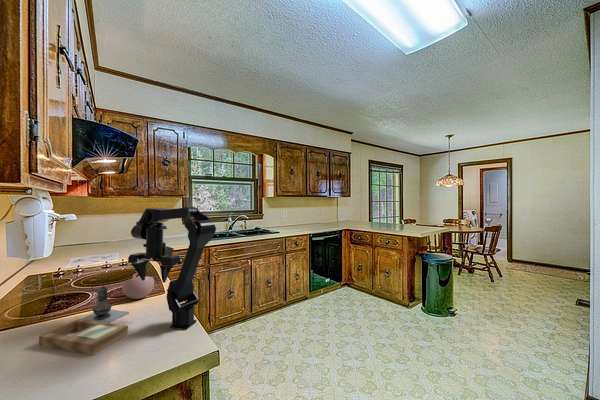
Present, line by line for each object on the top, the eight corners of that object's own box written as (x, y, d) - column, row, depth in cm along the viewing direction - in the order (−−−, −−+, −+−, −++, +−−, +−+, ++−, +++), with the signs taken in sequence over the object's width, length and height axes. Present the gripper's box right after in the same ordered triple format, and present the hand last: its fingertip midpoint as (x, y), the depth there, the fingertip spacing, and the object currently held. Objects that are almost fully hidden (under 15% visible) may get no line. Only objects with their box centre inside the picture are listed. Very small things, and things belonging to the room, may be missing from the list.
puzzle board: (127, 334, 86) (127, 324, 86) (93, 355, 75) (93, 343, 75) (78, 327, 90) (78, 318, 90) (39, 345, 79) (39, 334, 79)
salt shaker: (95, 322, 93) (96, 288, 93) (89, 317, 96) (90, 284, 96) (114, 316, 98) (115, 284, 98) (108, 312, 101) (108, 281, 101)
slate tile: (129, 313, 102) (129, 311, 102) (99, 328, 90) (99, 326, 90) (103, 310, 104) (103, 308, 104) (71, 324, 92) (71, 322, 92)
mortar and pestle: (151, 291, 126) (151, 267, 126) (156, 299, 116) (156, 273, 116) (121, 296, 118) (121, 271, 118) (123, 305, 109) (124, 278, 109)
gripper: (189, 238, 107) (188, 277, 107) (149, 236, 110) (149, 273, 110) (170, 243, 96) (169, 286, 96) (127, 240, 100) (126, 281, 100)
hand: (153, 281), depth 101 cm, fingers open, 9 cm apart
